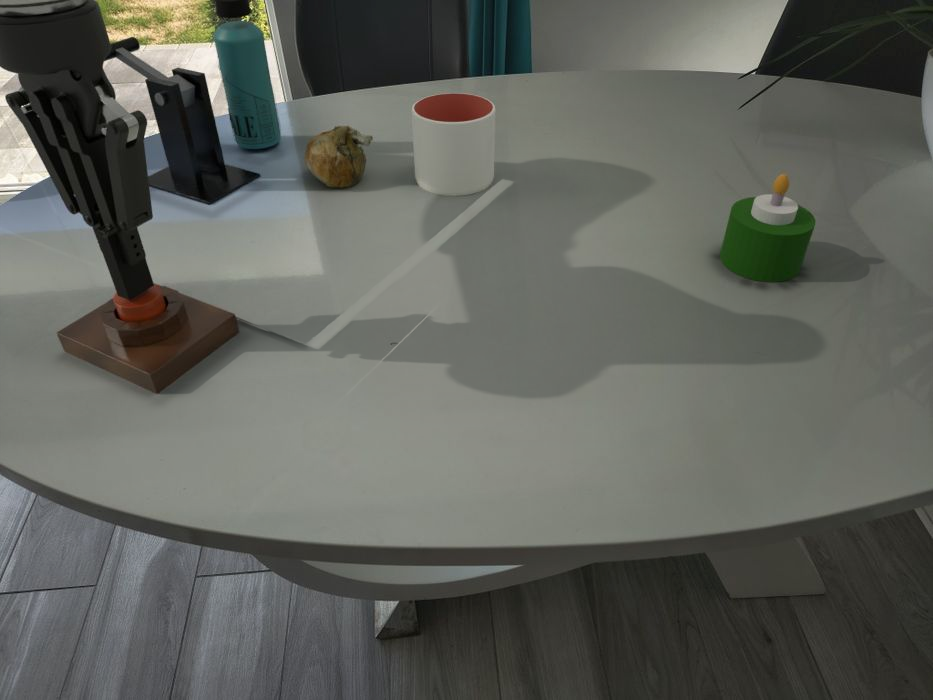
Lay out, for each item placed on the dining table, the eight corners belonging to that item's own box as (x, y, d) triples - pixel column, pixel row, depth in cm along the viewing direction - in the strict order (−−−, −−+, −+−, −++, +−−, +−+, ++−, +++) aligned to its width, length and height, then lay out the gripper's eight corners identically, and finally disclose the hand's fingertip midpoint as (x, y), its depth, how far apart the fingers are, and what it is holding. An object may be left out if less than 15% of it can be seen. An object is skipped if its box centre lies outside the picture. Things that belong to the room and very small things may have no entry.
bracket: (141, 189, 93) (107, 79, 84) (194, 163, 99) (168, 57, 90) (211, 211, 88) (183, 97, 79) (262, 182, 94) (241, 73, 86)
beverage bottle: (287, 140, 105) (262, -12, 92) (280, 159, 100) (253, 1, 87) (240, 141, 104) (209, -11, 92) (232, 161, 99) (197, 2, 87)
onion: (352, 165, 98) (346, 106, 93) (380, 188, 93) (375, 127, 88) (299, 179, 95) (290, 119, 90) (324, 203, 90) (316, 140, 85)
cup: (444, 210, 88) (442, 129, 82) (400, 180, 94) (395, 104, 88) (509, 188, 93) (512, 110, 86) (463, 161, 99) (462, 87, 93)
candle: (785, 291, 74) (814, 201, 68) (707, 264, 78) (728, 178, 72) (810, 257, 79) (839, 170, 73) (736, 234, 83) (758, 150, 77)
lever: (90, 62, 86) (88, 43, 85) (130, 49, 90) (130, 30, 89) (168, 114, 85) (168, 96, 83) (206, 98, 89) (207, 81, 87)
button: (109, 315, 65) (103, 299, 64) (144, 293, 68) (139, 277, 67) (140, 328, 64) (134, 312, 63) (175, 305, 66) (170, 289, 65)
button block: (64, 351, 67) (48, 316, 64) (150, 297, 74) (139, 263, 71) (157, 394, 62) (144, 358, 60) (239, 332, 69) (231, 297, 67)
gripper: (-75, 1, 50) (50, 291, 64) (50, 26, 45) (155, 334, 59) (25, -21, 55) (120, 252, 69) (147, -1, 50) (221, 289, 64)
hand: (136, 290), depth 64 cm, fingers closed
